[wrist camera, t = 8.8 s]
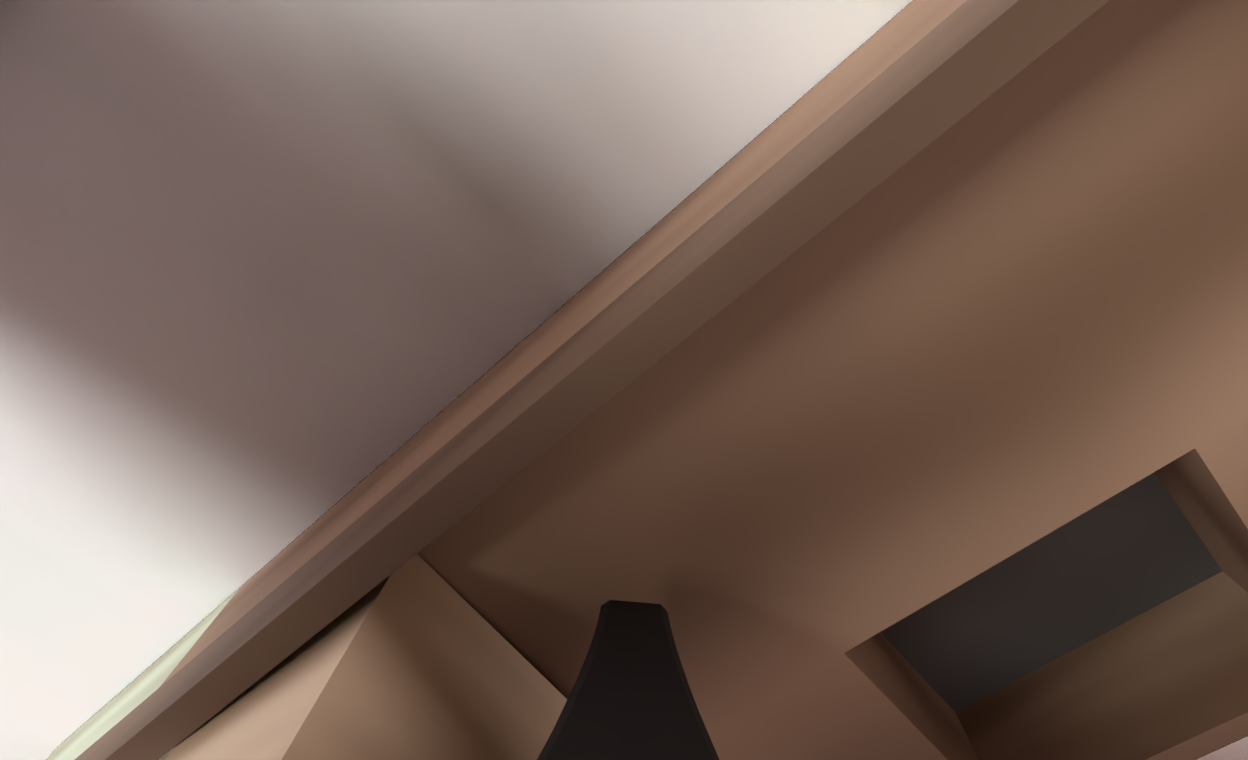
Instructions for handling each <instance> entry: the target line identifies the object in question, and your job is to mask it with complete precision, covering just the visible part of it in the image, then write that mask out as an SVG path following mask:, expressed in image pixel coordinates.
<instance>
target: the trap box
mask: <svg viewBox="0 0 1248 760" xmlns="http://www.w3.org/2000/svg"><path fill="white" fill-rule="evenodd" d="M416 554H418V555H419V556H420V557H421V558H422V559H423V560H424V561H425V562H426V563H427V564H428V565H429V566H430V567H431V568H432V569H433V570H434V571H435V572H436V573H437V574H438V575H439V576H440V577H441V578H442V579H443V580H444V581H445V582H446V583H448V584H449V585H450V586H451V587H452V588H453V589H454V590H455V591H456V592H457V593H458V594H459V595H460V596H461V597H462V598H463V599H464V600H465V601H466V602H467V603H468V604H469V605H470V606H471V607H472V608H473V609H474V610H475V611H476V612H477V613H478V614H480V615H481V616H482V617H483V618H484V619H485V620H486V621H487V622H488V623H489V624H490V625H491V626H492V627H493V628H494V629H495V630H496V631H497V632H498V633H499V634H500V635H501V636H502V637H503V638H504V639H505V640H506V641H507V642H508V643H509V644H510V645H512V646H513V647H514V648H515V649H516V650H517V651H518V652H519V653H520V654H521V655H522V656H523V657H524V658H525V659H526V660H527V661H528V662H529V663H530V664H531V665H532V666H533V667H534V668H535V669H536V670H537V671H538V672H539V673H540V674H541V675H542V676H544V677H545V678H546V679H547V680H548V681H549V682H550V683H551V684H552V685H553V686H554V687H555V688H556V689H557V690H558V691H559V692H560V693H561V694H562V695H563V696H564V697H565V698H566V699H568V697H569V695H570V693H571V691H572V689H573V687H574V684H575V682H576V680H577V678H578V675H579V673H580V670H581V668H582V665H583V663H584V661H585V658H586V656H587V653H588V650H589V648H590V645H591V642H592V639H593V636H594V633H595V629H596V626H597V622H598V618H599V613H600V608H601V605H603V604H604V603H606V602H607V601H609V600H619V601H631V602H643V603H654V604H661V605H662V606H663V607H664V608H665V610H666V611H667V612H668V617H669V622H670V626H671V630H672V634H673V638H674V641H675V645H676V648H677V652H678V655H679V658H680V661H681V664H682V667H683V670H684V673H685V675H686V678H687V681H688V684H689V687H690V689H691V692H692V695H693V697H694V700H695V702H696V705H697V708H698V710H699V713H700V715H701V717H702V720H703V722H704V724H705V727H706V729H707V731H708V734H709V736H710V739H711V741H712V743H713V746H714V748H715V750H716V753H717V755H718V757H719V760H1196V759H1198V758H1200V757H1203V756H1205V755H1207V754H1209V753H1211V752H1214V751H1216V750H1218V749H1220V748H1222V747H1225V746H1227V745H1229V744H1231V743H1233V742H1236V741H1238V740H1240V739H1242V738H1244V737H1247V736H1248V0H913V1H912V2H911V3H909V4H908V5H907V6H906V7H905V8H904V9H902V10H901V11H900V12H899V13H898V14H897V15H896V16H894V17H893V18H892V19H891V20H890V21H889V22H888V23H886V24H885V25H884V26H883V27H882V28H881V29H880V30H878V31H877V32H876V33H875V34H874V35H873V36H872V37H870V38H869V39H868V40H867V41H866V42H865V43H864V44H862V45H861V46H860V47H859V48H858V49H857V50H855V51H854V52H853V53H852V54H851V55H850V56H849V57H847V58H846V59H845V60H844V61H843V62H842V63H841V64H839V65H838V66H837V67H836V68H835V69H834V70H833V71H831V72H830V73H829V74H828V75H827V76H826V77H825V78H823V79H822V80H821V81H820V82H819V83H818V84H817V85H815V86H814V87H813V88H812V89H811V90H810V91H809V92H807V93H806V94H805V95H804V96H803V97H802V98H800V99H799V100H798V101H797V102H796V103H795V104H794V105H792V106H791V107H790V108H789V109H788V110H787V111H786V112H784V113H783V114H782V115H781V116H780V117H779V118H778V119H776V120H775V121H774V122H773V123H772V124H771V125H770V126H768V127H767V128H766V129H765V130H764V131H763V132H762V133H760V134H759V135H758V136H757V137H756V138H755V139H754V140H752V141H751V142H750V143H749V144H748V145H747V146H745V147H744V148H743V149H742V150H741V151H740V152H739V153H737V154H736V155H735V156H734V157H733V158H732V159H731V160H729V161H728V162H727V163H726V164H725V165H724V166H723V167H721V168H720V169H719V170H718V171H717V172H716V173H715V174H713V175H712V176H711V177H710V178H709V179H708V180H707V181H705V182H704V183H703V184H702V185H701V186H700V187H698V188H697V189H696V190H695V191H694V192H693V193H692V194H690V195H689V196H688V197H687V198H686V199H685V200H684V201H682V202H681V203H680V204H679V205H678V206H677V207H676V208H674V209H673V210H672V211H671V212H670V213H669V214H668V215H666V216H665V217H664V218H663V219H662V220H661V221H660V222H658V223H657V224H656V225H655V226H654V227H653V228H652V229H650V230H649V231H648V232H647V233H646V234H645V235H643V236H642V237H641V238H640V239H639V240H638V241H637V242H635V243H634V244H633V245H632V246H631V247H630V248H629V249H627V250H626V251H625V252H624V253H623V254H622V255H621V256H619V257H618V258H617V259H616V260H615V261H614V262H613V263H611V264H610V265H609V266H608V267H607V268H606V269H605V270H603V271H602V272H601V273H600V274H599V275H598V276H597V277H595V278H594V279H593V280H592V281H591V282H590V283H588V284H587V285H586V286H585V287H584V288H583V289H582V290H580V291H579V292H578V293H577V294H576V295H575V296H574V297H572V298H571V299H570V300H569V301H568V302H567V303H566V304H564V305H563V306H562V307H561V308H560V309H559V310H558V311H556V312H555V313H554V314H553V315H552V316H551V317H550V318H548V319H547V320H546V321H545V322H544V323H543V324H541V325H540V326H539V327H538V328H537V329H536V330H535V331H533V332H532V333H531V334H530V335H529V336H528V337H527V338H525V339H524V340H523V341H522V342H521V343H520V344H519V345H517V346H516V347H515V348H514V349H513V350H512V351H511V352H509V353H508V354H507V355H506V356H505V357H504V358H503V359H501V360H500V361H499V362H498V363H497V364H496V365H495V366H493V367H492V368H491V369H490V370H489V371H488V372H486V373H485V374H484V375H483V376H482V377H481V378H480V379H478V380H477V381H476V382H475V383H474V384H473V385H472V386H470V387H469V388H468V389H467V390H466V391H465V392H464V393H462V394H461V395H460V396H459V397H458V398H457V399H456V400H454V401H453V402H452V403H451V404H450V405H449V406H448V407H446V408H445V409H444V410H443V411H442V412H441V413H440V414H438V415H437V416H436V417H435V418H434V419H433V420H431V421H430V422H429V423H428V424H427V425H426V426H425V427H423V428H422V429H421V430H420V431H419V432H418V433H417V434H415V435H414V436H413V437H412V438H411V439H410V440H409V441H407V442H406V443H405V444H404V445H403V446H402V447H401V448H399V449H398V450H397V451H396V452H395V453H394V454H393V455H391V456H390V457H389V458H388V459H387V460H386V461H384V462H383V463H382V464H381V465H380V466H379V467H378V468H376V469H375V470H374V471H373V472H372V473H371V474H370V475H368V476H367V477H366V478H365V479H364V480H363V481H362V482H360V483H359V484H358V485H357V486H356V487H355V488H354V489H352V490H351V491H350V492H349V493H348V494H347V495H346V496H344V497H343V498H342V499H341V500H340V501H339V502H338V503H336V504H335V505H334V506H333V507H332V508H331V509H329V510H328V511H327V512H326V513H325V514H324V515H323V516H321V517H320V518H319V519H318V520H317V521H316V522H315V523H313V524H312V525H311V526H310V527H309V528H308V529H307V530H305V531H304V532H303V533H302V534H301V535H300V536H299V537H297V538H296V539H295V540H294V541H293V542H292V543H291V544H289V545H288V546H287V547H286V548H285V549H284V550H282V551H281V552H280V553H279V554H278V555H277V556H276V557H274V558H273V559H272V560H271V561H270V562H269V563H268V564H266V565H265V566H264V567H263V568H262V569H261V570H260V571H258V572H257V573H256V574H255V575H254V576H253V577H252V578H250V579H249V580H248V581H247V582H246V583H245V584H244V585H242V586H241V587H240V588H239V589H238V590H237V591H236V592H234V593H233V594H232V595H231V596H230V597H229V598H227V599H226V600H225V601H224V602H223V603H222V604H221V605H219V606H218V607H217V608H216V609H215V610H214V611H213V612H211V613H210V614H209V615H208V616H207V617H206V618H205V619H203V620H202V621H201V622H200V623H199V624H198V625H197V626H195V627H194V628H193V629H192V630H191V631H190V632H189V633H187V634H186V635H185V636H184V637H183V638H182V639H181V640H179V641H178V642H177V643H176V644H175V645H174V646H172V647H171V648H170V649H169V650H168V651H167V652H166V653H164V654H163V655H162V656H161V657H160V658H159V659H158V660H156V661H155V662H154V663H153V664H152V665H151V666H150V667H148V668H147V669H146V670H145V671H144V672H143V673H142V674H140V675H139V676H138V677H137V678H136V679H135V680H134V681H132V682H131V683H130V684H129V685H128V686H127V687H126V688H124V689H123V690H122V691H121V692H120V693H119V694H117V695H116V696H115V697H114V698H113V699H112V700H111V701H109V702H108V703H107V704H106V705H105V706H104V707H103V708H101V709H100V710H99V711H98V712H97V713H96V714H95V715H93V716H92V717H91V718H90V719H89V720H88V721H87V722H85V723H84V724H83V725H82V726H81V727H80V728H79V729H77V730H76V731H75V732H74V733H73V734H72V735H70V736H69V737H68V738H67V739H66V740H65V741H64V742H62V743H61V744H60V745H59V746H58V747H57V748H56V749H55V750H54V751H53V753H52V754H51V755H50V756H49V757H48V758H47V759H46V760H165V759H166V758H167V756H168V755H169V754H170V753H171V751H172V750H173V749H174V747H175V746H176V745H178V744H179V743H180V742H181V741H183V740H184V739H185V738H186V737H188V736H189V735H190V734H191V733H193V732H194V731H195V730H196V729H198V728H199V727H200V726H201V725H203V724H204V723H205V722H206V721H208V720H209V719H210V718H211V717H213V716H214V715H215V714H216V713H218V712H219V711H220V710H222V709H223V708H224V707H225V706H227V705H228V704H229V703H230V702H232V701H233V700H234V699H235V698H237V697H238V696H239V695H240V694H242V693H243V692H244V691H245V690H247V689H248V688H249V687H250V686H252V685H253V684H254V683H255V682H257V681H258V680H259V679H260V678H262V677H263V676H264V675H265V674H267V673H268V672H269V671H270V670H272V669H273V668H274V667H275V666H277V665H278V664H279V663H280V662H282V661H283V660H284V659H285V658H287V657H288V656H289V655H290V654H292V653H293V652H294V651H295V650H297V649H298V648H299V647H300V646H302V645H303V644H304V643H305V642H307V641H308V640H309V639H310V638H312V637H313V636H314V635H315V634H317V633H318V632H319V631H320V630H322V629H323V628H324V627H325V626H327V625H328V624H329V623H330V622H332V621H333V620H334V619H335V618H337V617H338V616H339V615H340V614H342V613H343V612H344V611H345V610H347V609H348V608H349V607H350V606H352V605H353V604H354V603H355V602H357V601H358V600H359V599H361V598H362V597H363V596H364V595H366V594H367V593H368V592H369V591H371V590H372V589H373V588H374V587H376V586H377V585H378V584H379V583H381V582H382V581H383V580H384V579H386V578H387V577H388V576H389V575H391V574H392V573H393V572H394V571H396V570H397V569H398V568H399V567H401V566H402V565H403V564H404V563H406V562H407V561H408V560H409V559H411V558H412V557H413V556H414V555H416Z"/></svg>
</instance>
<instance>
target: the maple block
mask: <svg viewBox="0 0 1248 760" xmlns="http://www.w3.org/2000/svg"><path fill="white" fill-rule="evenodd" d="M566 701H567V699H566V698H565V697H564V696H563V695H562V694H561V693H560V692H559V691H558V690H557V689H556V688H555V687H554V686H553V685H552V684H551V683H550V682H549V681H548V680H547V679H546V678H545V677H544V676H542V675H541V674H540V673H539V672H538V671H537V670H536V669H535V668H534V667H533V666H532V665H531V664H530V663H529V662H528V661H527V660H526V659H525V658H524V657H523V656H522V655H521V654H520V653H519V652H518V651H517V650H516V649H515V648H514V647H513V646H512V645H510V644H509V643H508V642H507V641H506V640H505V639H504V638H503V637H502V636H501V635H500V634H499V633H498V632H497V631H496V630H495V629H494V628H493V627H492V626H491V625H490V624H489V623H488V622H487V621H486V620H485V619H484V618H483V617H482V616H481V615H480V614H478V613H477V612H476V611H475V610H474V609H473V608H472V607H471V606H470V605H469V604H468V603H467V602H466V601H465V600H464V599H463V598H462V597H461V596H460V595H459V594H458V593H457V592H456V591H455V590H454V589H453V588H452V587H451V586H450V585H449V584H448V583H446V582H445V581H444V580H443V579H442V578H441V577H440V576H439V575H438V574H437V573H436V572H435V571H434V570H433V569H432V568H431V567H430V566H429V565H428V564H427V563H426V562H425V561H424V560H423V559H422V558H421V557H420V556H419V555H418V554H416V555H414V556H413V557H412V558H411V559H409V560H408V561H407V562H406V563H404V564H403V565H402V566H401V567H399V568H398V569H397V570H396V571H394V572H393V573H392V574H391V575H389V576H388V577H387V578H386V579H384V580H383V581H382V582H381V583H379V584H378V585H377V586H376V587H374V588H373V589H372V590H371V591H369V592H368V593H367V594H366V595H364V596H363V597H362V598H361V599H359V600H358V601H357V602H355V603H354V604H353V605H352V606H350V607H349V608H348V609H347V610H345V611H344V612H343V613H342V614H340V615H339V616H338V617H337V618H335V619H334V620H333V621H332V622H330V623H329V624H328V625H327V626H325V627H324V628H323V629H322V630H320V631H319V632H318V633H317V634H315V635H314V636H313V637H312V638H310V639H309V640H308V641H307V642H305V643H304V644H303V645H302V646H300V647H299V648H298V649H297V650H295V651H294V652H293V653H292V654H290V655H289V656H288V657H287V658H285V659H284V660H283V661H282V662H280V663H279V664H278V665H277V666H275V667H274V668H273V669H272V670H270V671H269V672H268V673H267V674H265V675H264V676H263V677H262V678H260V679H259V680H258V681H257V682H255V683H254V684H253V685H252V686H250V687H249V688H248V689H247V690H245V691H244V692H243V693H242V694H240V695H239V696H238V697H237V698H235V699H234V700H233V701H232V702H230V703H229V704H228V705H227V706H225V707H224V708H223V709H222V710H220V711H219V712H218V713H216V714H215V715H214V716H213V717H211V718H210V719H209V720H208V721H206V722H205V723H204V724H203V725H201V726H200V727H199V728H198V729H196V730H195V731H194V732H193V733H191V734H190V735H189V736H188V737H186V738H185V739H184V740H183V741H181V742H180V743H179V744H178V745H176V746H175V747H174V749H173V750H172V751H171V753H170V754H169V755H168V756H167V758H166V759H165V760H537V758H538V756H539V755H540V753H541V751H542V749H543V747H544V746H545V744H546V742H547V740H548V738H549V736H550V734H551V732H552V731H553V729H554V727H555V724H556V722H557V720H558V718H559V716H560V714H561V712H562V710H563V708H564V706H565V703H566Z"/></svg>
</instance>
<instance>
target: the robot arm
mask: <svg viewBox="0 0 1248 760" xmlns="http://www.w3.org/2000/svg"><path fill="white" fill-rule="evenodd" d="M537 760H719V757H718V755H717V753H716V750H715V748H714V746H713V743H712V741H711V739H710V736H709V734H708V731H707V729H706V727H705V724H704V722H703V720H702V717H701V715H700V713H699V710H698V708H697V705H696V702H695V700H694V697H693V695H692V692H691V689H690V687H689V684H688V681H687V678H686V675H685V673H684V670H683V667H682V664H681V661H680V658H679V655H678V652H677V648H676V645H675V641H674V638H673V634H672V630H671V626H670V622H669V617H668V612H667V611H666V610H665V608H664V607H663V606H662V605H661V604H654V603H643V602H631V601H619V600H609V601H607V602H606V603H604V604H603V605H601V608H600V613H599V618H598V622H597V626H596V629H595V633H594V636H593V639H592V642H591V645H590V648H589V650H588V653H587V656H586V658H585V661H584V663H583V665H582V668H581V670H580V673H579V675H578V678H577V680H576V682H575V684H574V687H573V689H572V691H571V693H570V695H569V697H568V699H567V701H566V703H565V706H564V708H563V710H562V712H561V714H560V716H559V718H558V720H557V722H556V724H555V727H554V729H553V731H552V732H551V734H550V736H549V738H548V740H547V742H546V744H545V746H544V747H543V749H542V751H541V753H540V755H539V756H538V758H537Z"/></svg>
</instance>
